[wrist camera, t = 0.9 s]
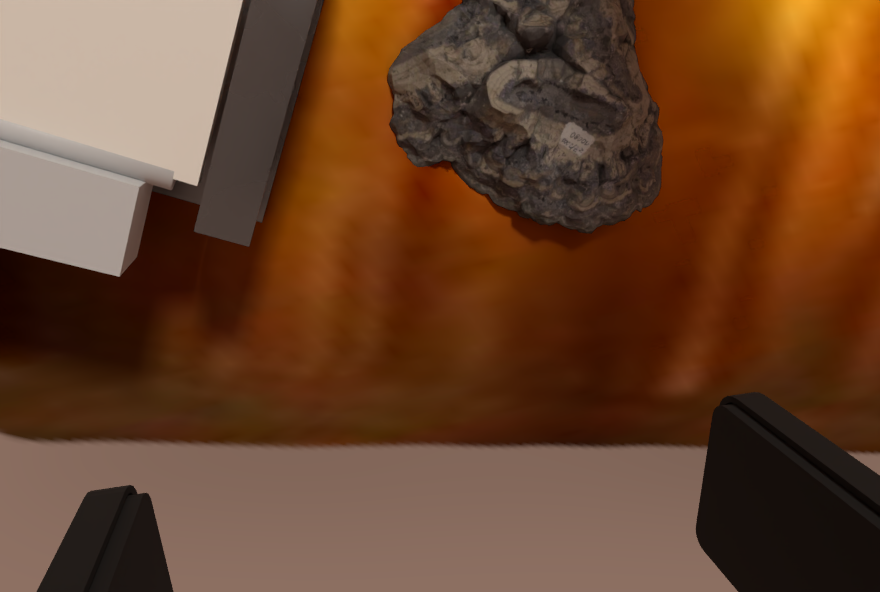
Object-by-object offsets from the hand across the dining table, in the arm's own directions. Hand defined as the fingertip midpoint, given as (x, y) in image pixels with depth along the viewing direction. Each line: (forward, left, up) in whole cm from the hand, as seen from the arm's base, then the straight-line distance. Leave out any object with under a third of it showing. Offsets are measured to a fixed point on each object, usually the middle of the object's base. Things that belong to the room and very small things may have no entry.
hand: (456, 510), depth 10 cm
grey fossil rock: (-10, +10, -29) cm, 32 cm away
